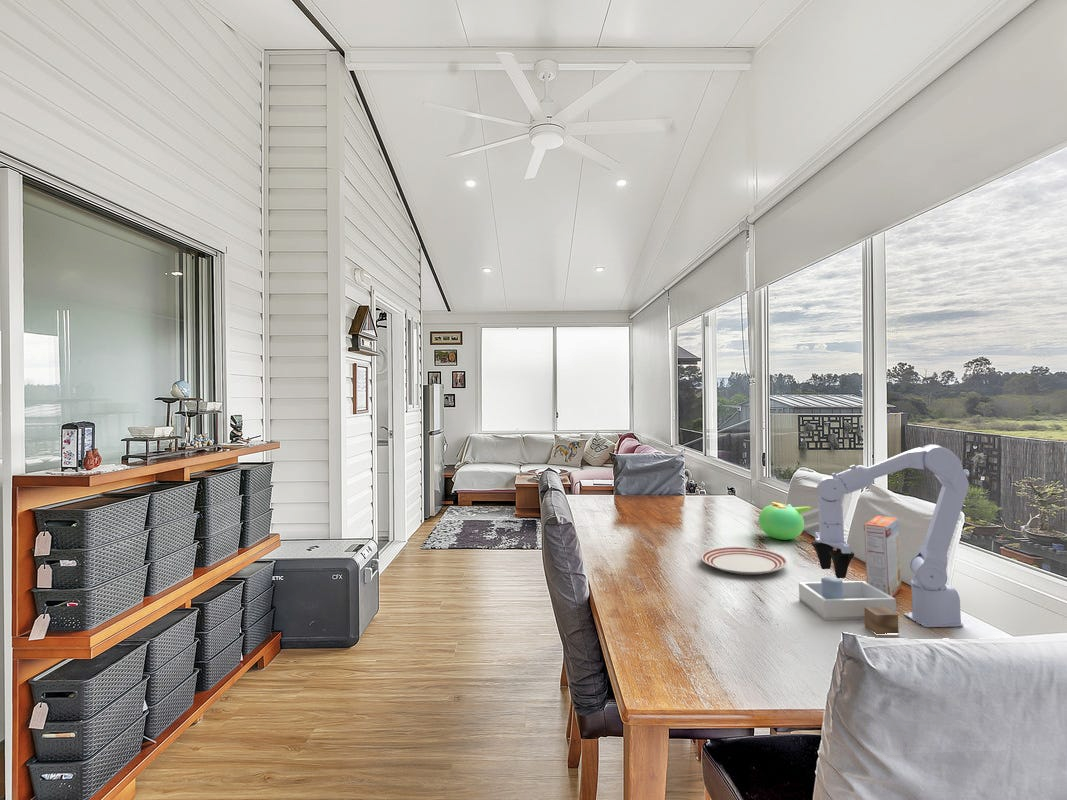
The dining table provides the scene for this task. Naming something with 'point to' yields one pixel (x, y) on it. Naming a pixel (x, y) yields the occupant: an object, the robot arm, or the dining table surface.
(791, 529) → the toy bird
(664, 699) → the dining table surface
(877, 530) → the cracker box
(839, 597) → the blue cylinder
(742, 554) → the dinner plate
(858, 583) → the tote
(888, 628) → the walnut cube
